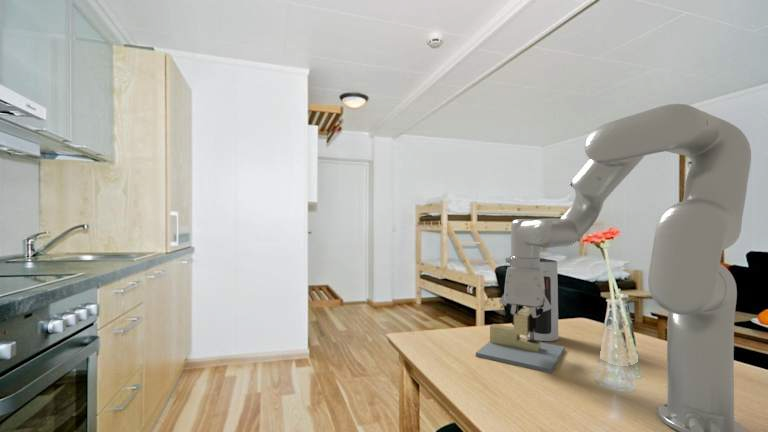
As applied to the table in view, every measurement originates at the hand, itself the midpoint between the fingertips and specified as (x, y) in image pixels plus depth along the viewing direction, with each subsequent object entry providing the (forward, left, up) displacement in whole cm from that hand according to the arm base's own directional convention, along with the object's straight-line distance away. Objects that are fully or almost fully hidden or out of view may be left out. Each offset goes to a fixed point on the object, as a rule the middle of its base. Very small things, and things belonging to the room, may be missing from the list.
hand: (524, 328), depth 100 cm
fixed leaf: (+8, +5, -8) cm, 12 cm away
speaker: (+25, +1, -9) cm, 26 cm away
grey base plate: (+5, +2, -9) cm, 11 cm away
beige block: (+3, 0, 0) cm, 3 cm away
